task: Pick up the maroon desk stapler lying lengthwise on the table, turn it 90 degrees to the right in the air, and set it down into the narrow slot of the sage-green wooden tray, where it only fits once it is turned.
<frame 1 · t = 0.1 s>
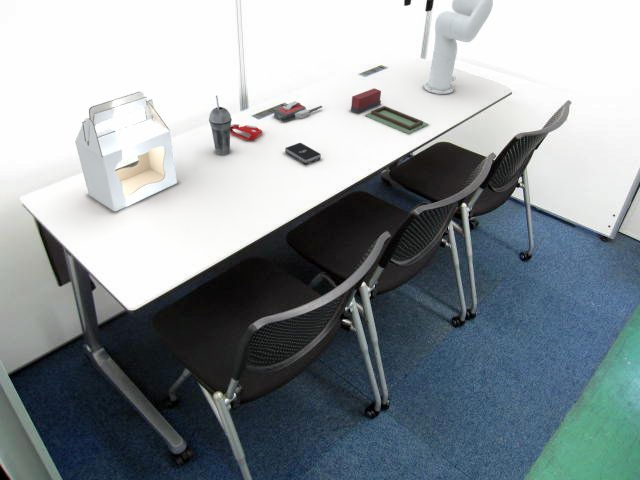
hand: (417, 8, 200), 37 cm above the table, tool pointing down, fingers open, 9 cm apart
external hard drive: (302, 157, 182), on the table
gable box: (134, 189, 161), on the table
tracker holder: (246, 135, 193), on the table
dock: (396, 120, 208), on the table
beverage cup: (222, 152, 182), on the table
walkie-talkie: (297, 114, 209), on the table
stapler: (365, 107, 216), on the table
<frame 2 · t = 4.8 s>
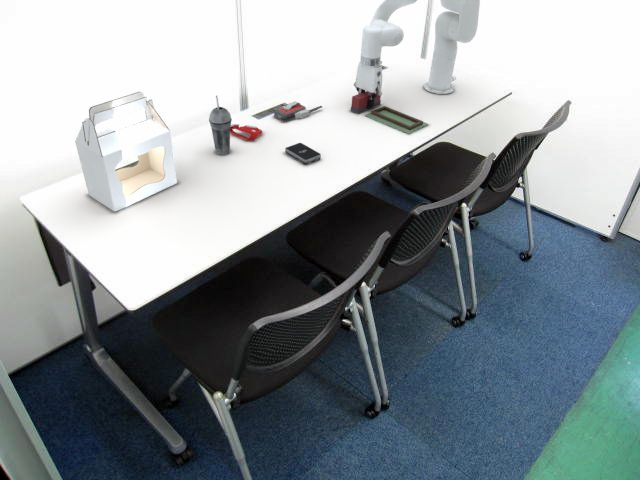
hand: (365, 106, 216), 1 cm above the table, tool pointing down, fingers closed on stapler, 3 cm apart
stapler: (365, 107, 216), on the table, touching gripper
everything else where it was.
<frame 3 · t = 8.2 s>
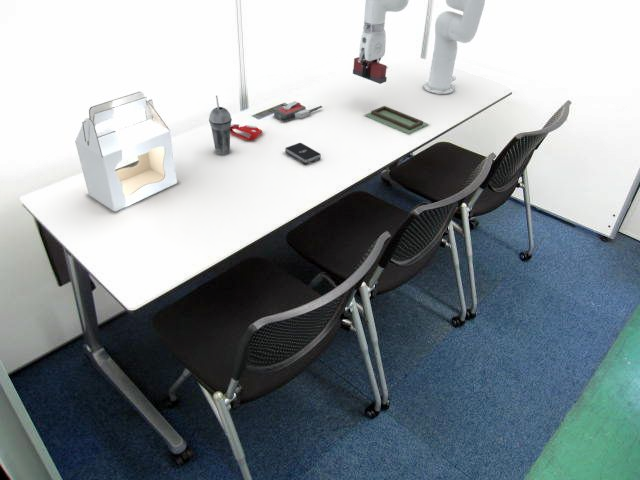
hand: (369, 75, 208), 13 cm above the table, tool pointing down, fingers closed on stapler, 3 cm apart
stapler: (369, 77, 209), point 12 cm above the table, touching gripper
everything else where it was.
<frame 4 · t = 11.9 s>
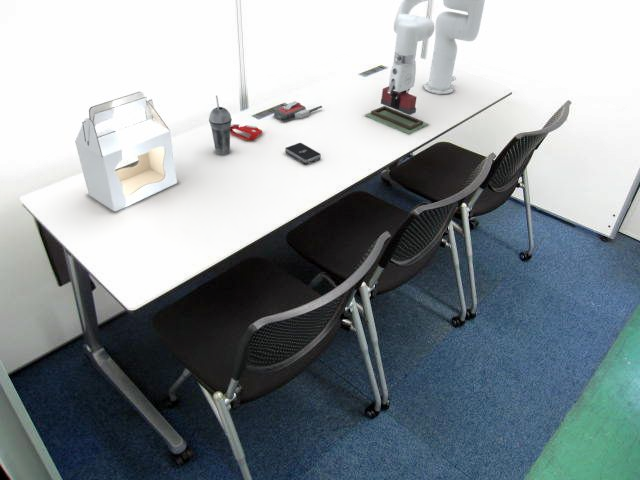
hand: (398, 106, 204), 6 cm above the table, tool pointing down, fingers closed on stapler, 3 cm apart
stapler: (397, 108, 205), point 5 cm above the table, touching gripper
everything else where it was.
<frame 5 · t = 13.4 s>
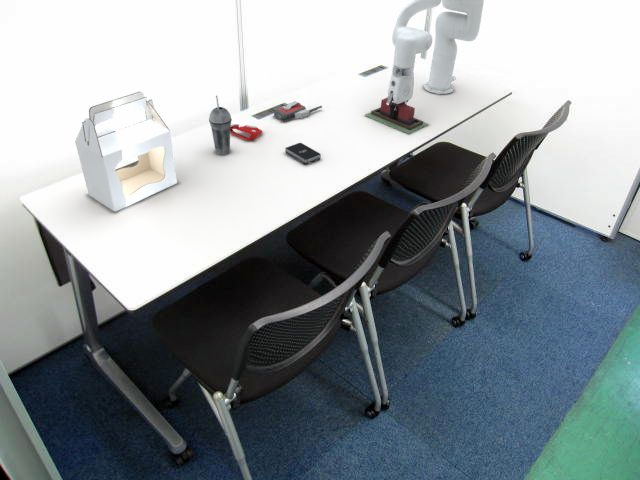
hand: (396, 117, 207), 1 cm above the table, tool pointing down, fingers closed on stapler, 3 cm apart
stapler: (396, 118, 207), point 1 cm above the table, touching gripper
everything else where it was.
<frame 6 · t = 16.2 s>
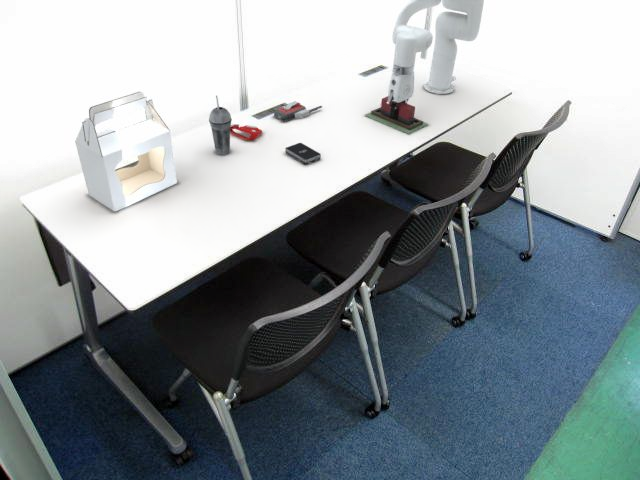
hand: (397, 115, 207), 2 cm above the table, tool pointing down, fingers closed on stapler, 3 cm apart
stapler: (396, 117, 207), point 1 cm above the table, touching gripper
everything else where it was.
when the fingers open (3 cm above the table, at t = 19.0 s): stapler drops 1 cm, resting on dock.
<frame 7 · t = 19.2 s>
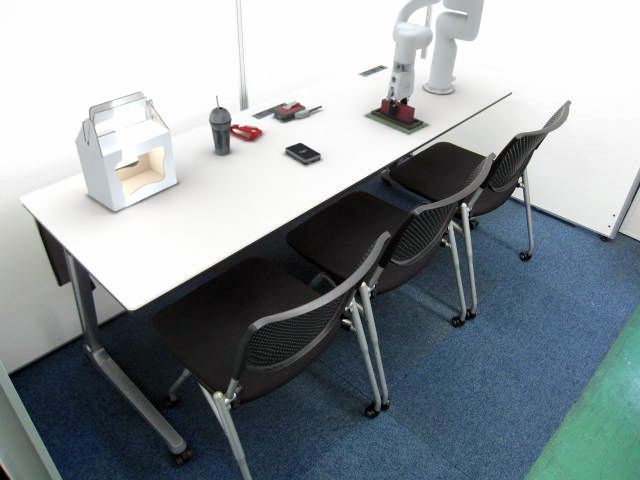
hand: (397, 112, 206), 3 cm above the table, tool pointing down, fingers open, 5 cm apart
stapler: (396, 118, 207), point 1 cm above the table, touching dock
everything else where it was.
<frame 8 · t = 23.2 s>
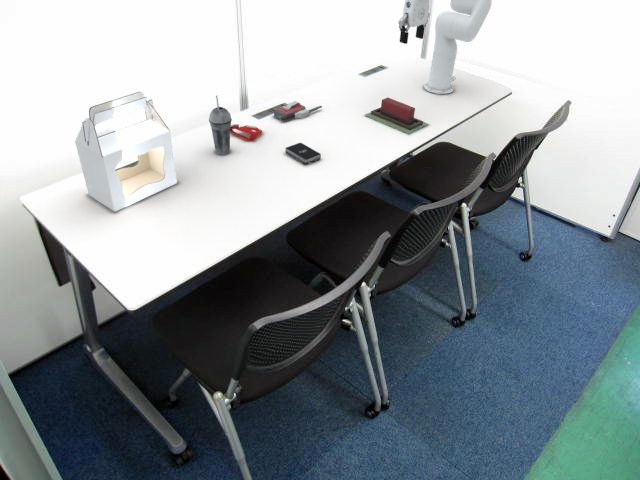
hand: (411, 40, 202), 26 cm above the table, tool pointing down, fingers open, 9 cm apart
nothing on the table moved.
at the end: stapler 0.2 cm off-centre on the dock, point 0.6 cm above the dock's base; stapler tilted 0°; the gripper is holding nothing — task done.
